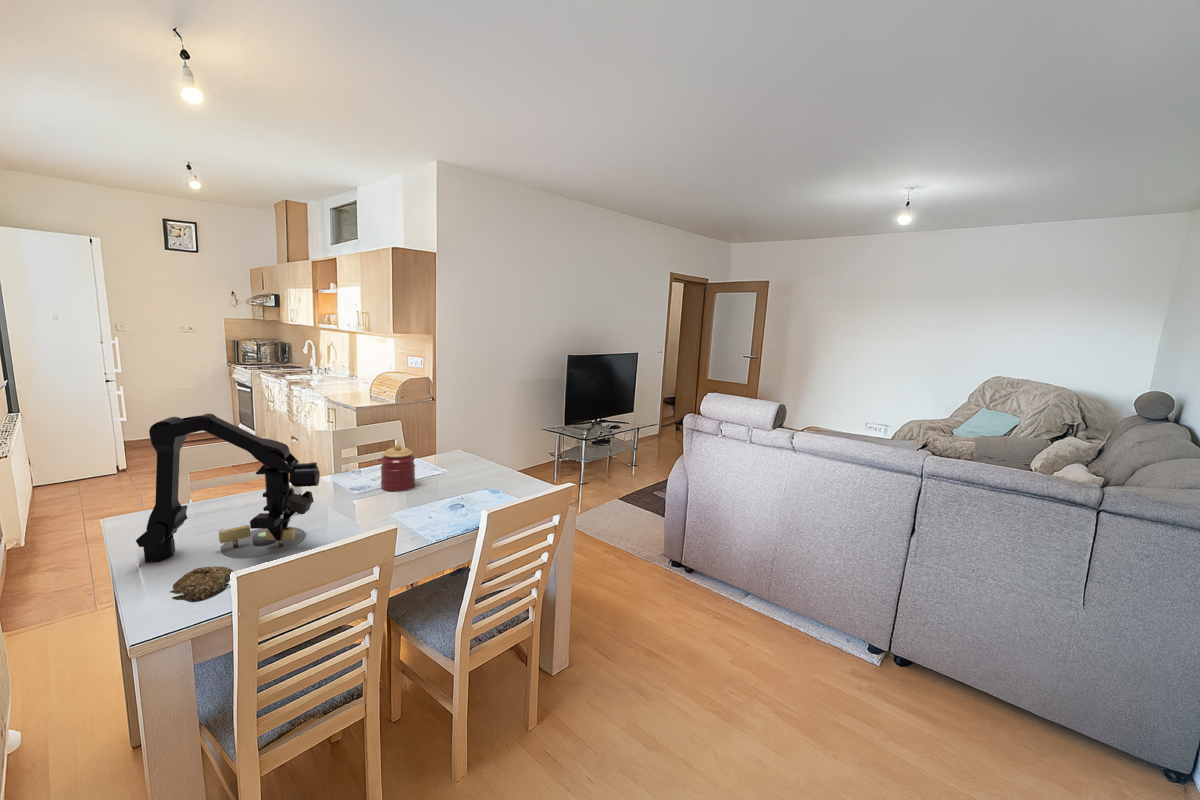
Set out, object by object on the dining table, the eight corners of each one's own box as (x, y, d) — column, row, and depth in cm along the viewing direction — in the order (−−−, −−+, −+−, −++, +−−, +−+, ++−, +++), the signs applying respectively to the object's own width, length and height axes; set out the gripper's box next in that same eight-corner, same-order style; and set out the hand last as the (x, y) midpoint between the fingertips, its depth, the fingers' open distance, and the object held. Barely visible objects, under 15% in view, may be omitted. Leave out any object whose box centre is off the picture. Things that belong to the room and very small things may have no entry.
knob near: (292, 548, 142) (291, 528, 141) (266, 548, 141) (265, 529, 140) (295, 545, 144) (294, 526, 143) (269, 545, 143) (268, 526, 142)
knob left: (251, 544, 143) (249, 525, 142) (221, 551, 138) (219, 532, 137) (249, 542, 144) (248, 523, 143) (219, 549, 139) (218, 530, 138)
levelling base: (285, 562, 137) (284, 550, 136) (203, 563, 134) (202, 550, 133) (318, 529, 157) (317, 519, 157) (247, 530, 154) (246, 519, 154)
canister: (383, 481, 204) (382, 440, 201) (416, 480, 208) (415, 439, 205) (379, 492, 191) (378, 449, 189) (414, 490, 195) (414, 448, 192)
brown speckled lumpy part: (245, 577, 129) (244, 559, 128) (204, 604, 116) (203, 585, 116) (199, 573, 129) (197, 556, 129) (154, 599, 117) (152, 580, 116)
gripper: (291, 499, 132) (294, 553, 134) (321, 477, 150) (323, 525, 152) (247, 499, 130) (250, 554, 133) (282, 476, 148) (285, 525, 151)
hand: (280, 538), depth 142 cm, fingers closed on knob near, 2 cm apart
